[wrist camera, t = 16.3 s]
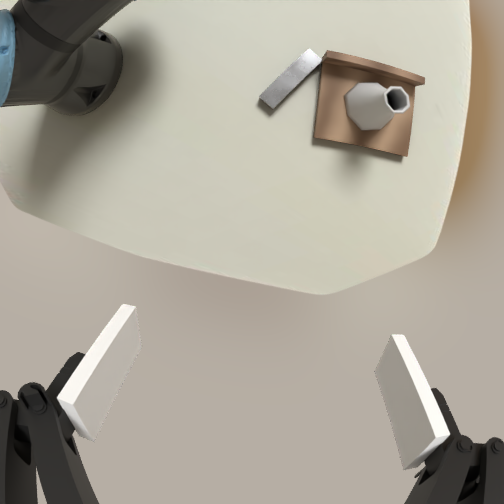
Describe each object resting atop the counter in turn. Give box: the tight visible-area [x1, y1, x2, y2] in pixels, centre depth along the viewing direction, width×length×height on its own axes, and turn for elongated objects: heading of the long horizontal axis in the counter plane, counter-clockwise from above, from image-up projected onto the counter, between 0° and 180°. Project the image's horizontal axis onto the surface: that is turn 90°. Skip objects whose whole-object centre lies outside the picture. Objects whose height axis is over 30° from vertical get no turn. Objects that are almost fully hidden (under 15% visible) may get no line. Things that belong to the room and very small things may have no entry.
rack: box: [313, 50, 425, 157], centre depth 33 cm, size 14×12×4 cm
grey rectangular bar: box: [259, 49, 323, 109], centre depth 34 cm, size 2×10×2 cm, turn 138°
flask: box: [344, 82, 410, 130], centre depth 30 cm, size 7×7×10 cm
